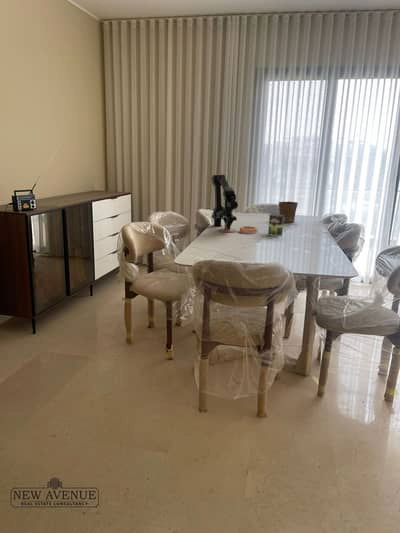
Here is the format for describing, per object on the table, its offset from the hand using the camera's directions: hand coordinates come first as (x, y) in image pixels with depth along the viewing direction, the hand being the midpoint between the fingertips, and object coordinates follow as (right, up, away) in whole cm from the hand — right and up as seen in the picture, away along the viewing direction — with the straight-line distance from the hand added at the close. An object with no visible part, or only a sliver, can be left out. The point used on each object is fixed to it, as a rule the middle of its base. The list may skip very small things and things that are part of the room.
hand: (227, 228), depth 287 cm
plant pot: (+53, +10, +44) cm, 70 cm away
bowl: (+15, -3, -1) cm, 16 cm away
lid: (0, -2, +1) cm, 2 cm away
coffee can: (+34, -5, -6) cm, 35 cm away
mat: (0, -2, +1) cm, 2 cm away
